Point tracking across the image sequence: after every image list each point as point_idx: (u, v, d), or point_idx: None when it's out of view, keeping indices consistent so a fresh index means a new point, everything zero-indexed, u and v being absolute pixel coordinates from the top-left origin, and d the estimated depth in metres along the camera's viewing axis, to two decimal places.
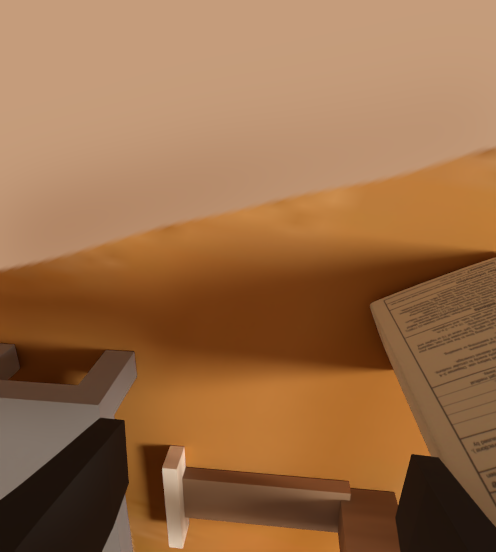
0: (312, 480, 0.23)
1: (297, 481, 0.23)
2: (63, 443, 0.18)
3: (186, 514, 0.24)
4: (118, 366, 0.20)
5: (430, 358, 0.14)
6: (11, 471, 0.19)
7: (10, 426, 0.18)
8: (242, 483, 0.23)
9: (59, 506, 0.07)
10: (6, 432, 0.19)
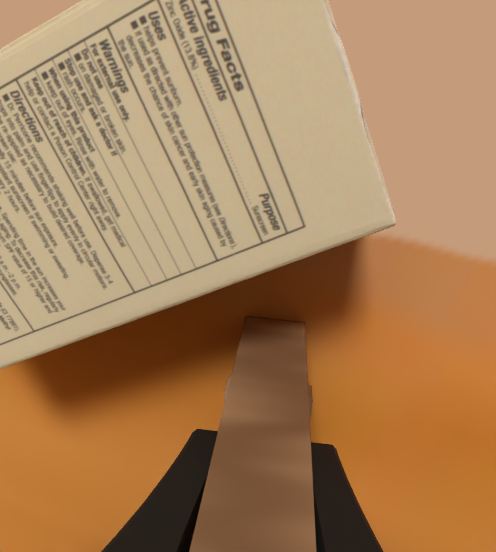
0: None
1: None
2: None
3: None
4: None
5: (75, 295, 0.10)
6: None
7: None
8: None
9: (190, 524, 0.07)
10: None
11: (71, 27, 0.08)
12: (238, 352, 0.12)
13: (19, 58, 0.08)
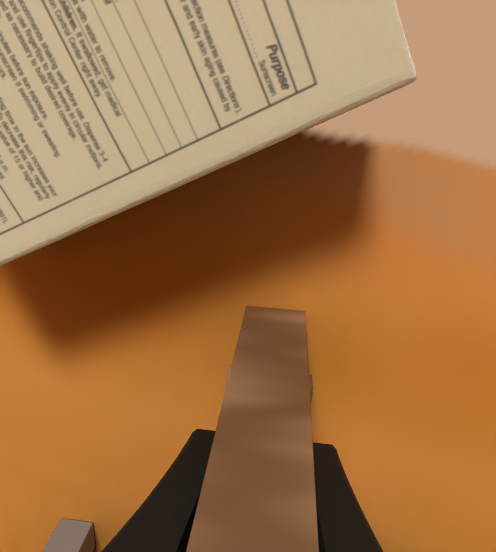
0: None
1: None
2: None
3: None
4: None
5: (67, 177, 0.09)
6: None
7: None
8: None
9: (190, 524, 0.07)
10: None
11: None
12: (239, 339, 0.12)
13: None
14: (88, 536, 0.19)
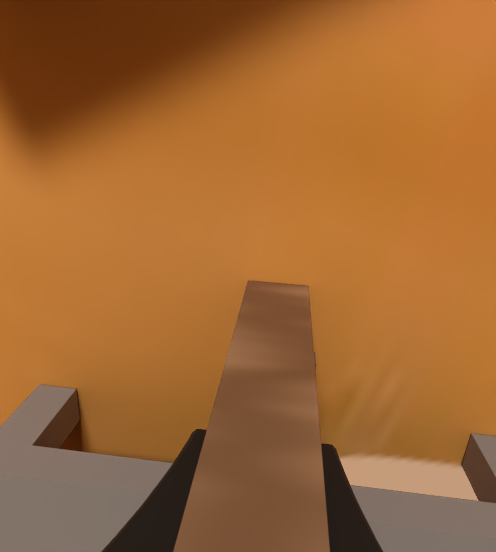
0: None
1: None
2: (39, 523, 0.13)
3: None
4: None
5: None
6: None
7: None
8: None
9: None
10: None
11: None
12: (241, 310, 0.12)
13: None
14: (71, 402, 0.16)
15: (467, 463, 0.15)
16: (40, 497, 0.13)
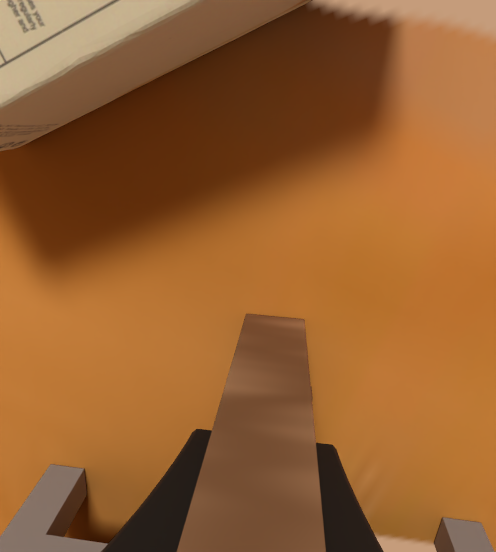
0: None
1: None
2: None
3: None
4: None
5: (56, 1, 0.08)
6: None
7: None
8: None
9: None
10: None
11: None
12: (239, 340, 0.12)
13: None
14: (79, 482, 0.18)
15: (438, 544, 0.17)
16: None
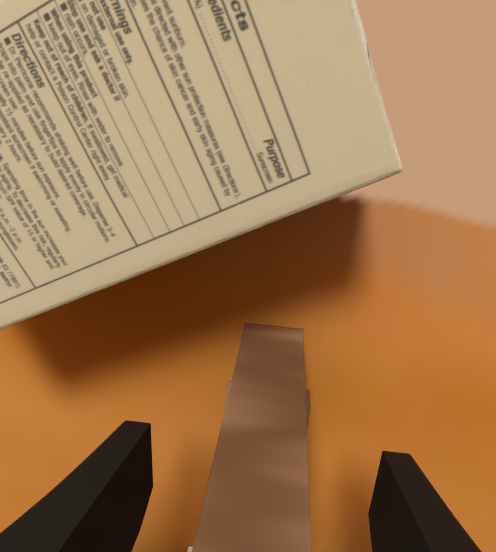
0: None
1: None
2: None
3: None
4: None
5: (77, 249, 0.09)
6: None
7: None
8: None
9: (93, 511, 0.07)
10: None
11: None
12: (238, 359, 0.12)
13: None
14: None
15: None
16: None
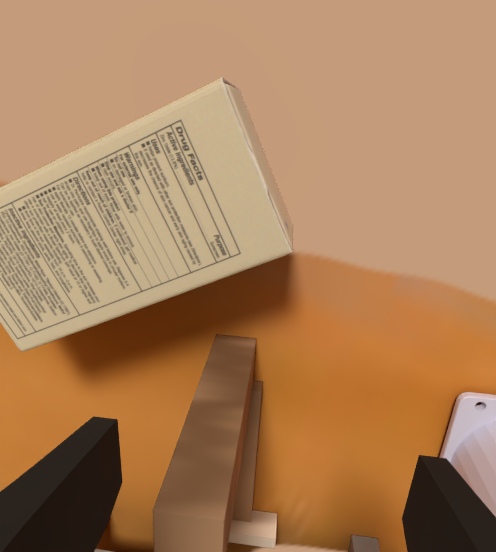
0: None
1: None
2: None
3: (246, 520, 0.24)
4: None
5: (106, 292, 0.16)
6: None
7: None
8: None
9: (50, 505, 0.07)
10: None
11: (108, 145, 0.14)
12: (208, 359, 0.19)
13: (79, 160, 0.14)
14: None
15: None
16: None
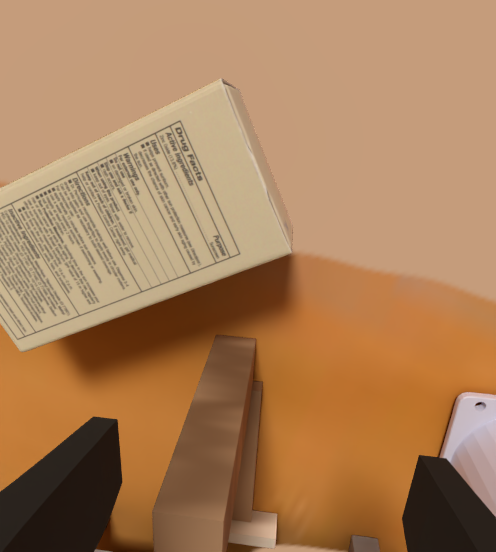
0: None
1: None
2: None
3: (246, 520, 0.24)
4: None
5: (105, 293, 0.16)
6: None
7: None
8: None
9: (50, 505, 0.07)
10: None
11: (108, 146, 0.14)
12: (208, 359, 0.19)
13: (78, 161, 0.14)
14: None
15: None
16: None
